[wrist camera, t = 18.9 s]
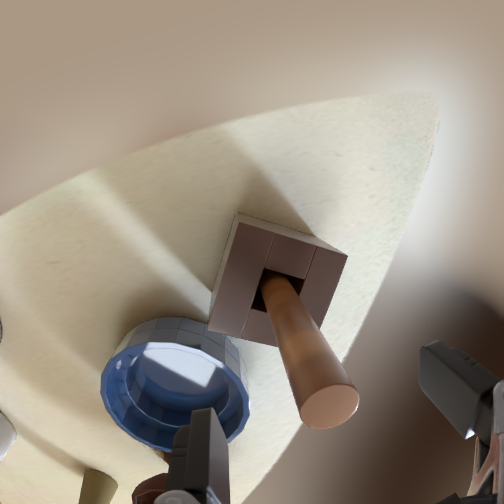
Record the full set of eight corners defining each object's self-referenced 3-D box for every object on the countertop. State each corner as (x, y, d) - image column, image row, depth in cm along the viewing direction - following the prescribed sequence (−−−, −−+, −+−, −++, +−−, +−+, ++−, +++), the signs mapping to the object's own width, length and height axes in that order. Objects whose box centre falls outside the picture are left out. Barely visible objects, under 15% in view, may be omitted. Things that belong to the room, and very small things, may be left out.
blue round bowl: (114, 398, 31) (99, 430, 25) (127, 296, 28) (106, 320, 23) (226, 428, 33) (227, 464, 27) (263, 334, 30) (270, 365, 24)
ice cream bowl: (173, 483, 35) (164, 561, 20) (128, 440, 33) (102, 526, 18) (235, 470, 35) (241, 556, 20) (196, 423, 32) (187, 525, 18)
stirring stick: (250, 273, 29) (290, 427, 9) (257, 251, 29) (315, 380, 9) (272, 279, 29) (343, 431, 10) (279, 257, 29) (370, 387, 9)
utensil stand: (211, 293, 29) (206, 330, 21) (236, 211, 28) (238, 221, 20) (290, 313, 30) (309, 353, 22) (317, 237, 29) (348, 255, 21)
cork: (124, 485, 35) (111, 535, 24) (107, 492, 35) (94, 538, 25) (94, 466, 34) (75, 516, 23) (79, 474, 34) (61, 519, 24)
